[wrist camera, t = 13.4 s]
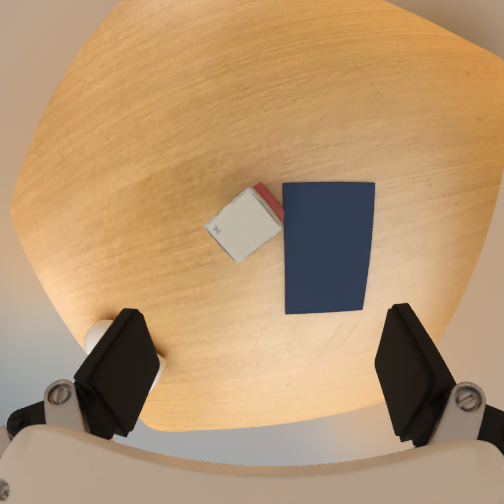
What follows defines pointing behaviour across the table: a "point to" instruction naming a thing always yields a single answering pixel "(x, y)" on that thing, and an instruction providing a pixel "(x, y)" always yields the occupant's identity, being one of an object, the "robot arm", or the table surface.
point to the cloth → (327, 245)
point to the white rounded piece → (98, 331)
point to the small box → (247, 222)
